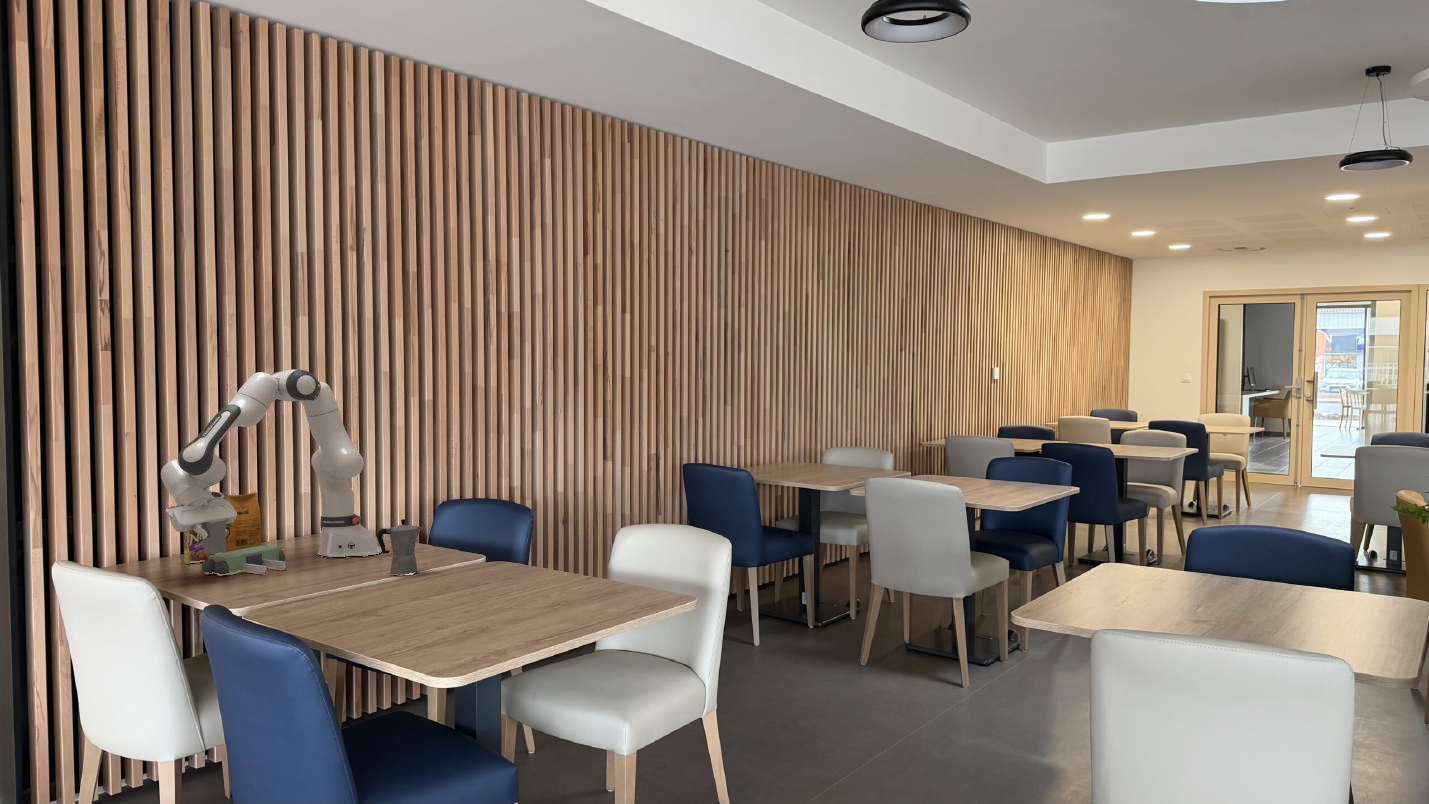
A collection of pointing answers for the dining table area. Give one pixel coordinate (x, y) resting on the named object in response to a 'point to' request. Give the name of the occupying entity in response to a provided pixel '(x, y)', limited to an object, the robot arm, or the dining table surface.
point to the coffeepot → (401, 547)
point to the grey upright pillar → (215, 536)
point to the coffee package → (244, 523)
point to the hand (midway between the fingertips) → (216, 535)
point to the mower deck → (245, 560)
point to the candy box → (194, 547)
